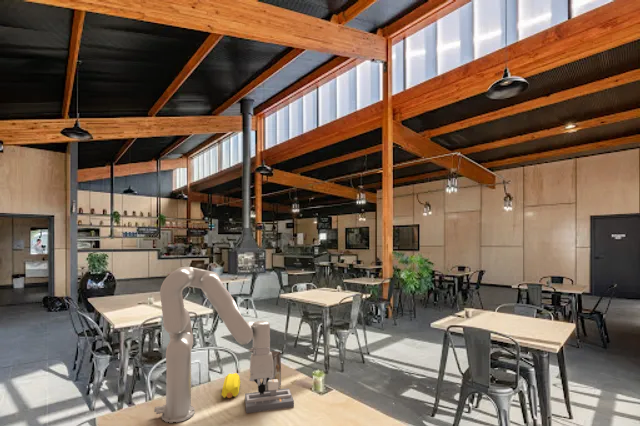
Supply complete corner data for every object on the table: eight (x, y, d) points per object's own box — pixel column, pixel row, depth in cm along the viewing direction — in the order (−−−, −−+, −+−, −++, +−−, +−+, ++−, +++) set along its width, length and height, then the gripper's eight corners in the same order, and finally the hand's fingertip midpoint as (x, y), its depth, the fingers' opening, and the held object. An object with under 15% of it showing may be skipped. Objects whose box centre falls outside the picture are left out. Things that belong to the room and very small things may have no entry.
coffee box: (269, 383, 171) (268, 350, 172) (281, 384, 170) (281, 351, 171) (262, 391, 162) (262, 356, 163) (275, 392, 161) (275, 357, 162)
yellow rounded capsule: (220, 401, 154) (238, 399, 155) (220, 385, 154) (238, 384, 155) (225, 384, 172) (240, 383, 173) (225, 370, 172) (241, 369, 173)
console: (246, 413, 143) (246, 404, 143) (245, 399, 155) (245, 391, 156) (293, 406, 148) (293, 398, 148) (289, 393, 160) (289, 385, 160)
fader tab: (268, 398, 150) (268, 382, 150) (267, 394, 153) (267, 379, 154) (278, 396, 151) (278, 381, 152) (277, 393, 154) (277, 378, 155)
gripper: (244, 354, 147) (244, 399, 146) (279, 351, 150) (279, 394, 149) (243, 349, 154) (243, 391, 153) (277, 346, 158) (277, 387, 156)
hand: (261, 393), depth 151 cm, fingers closed
